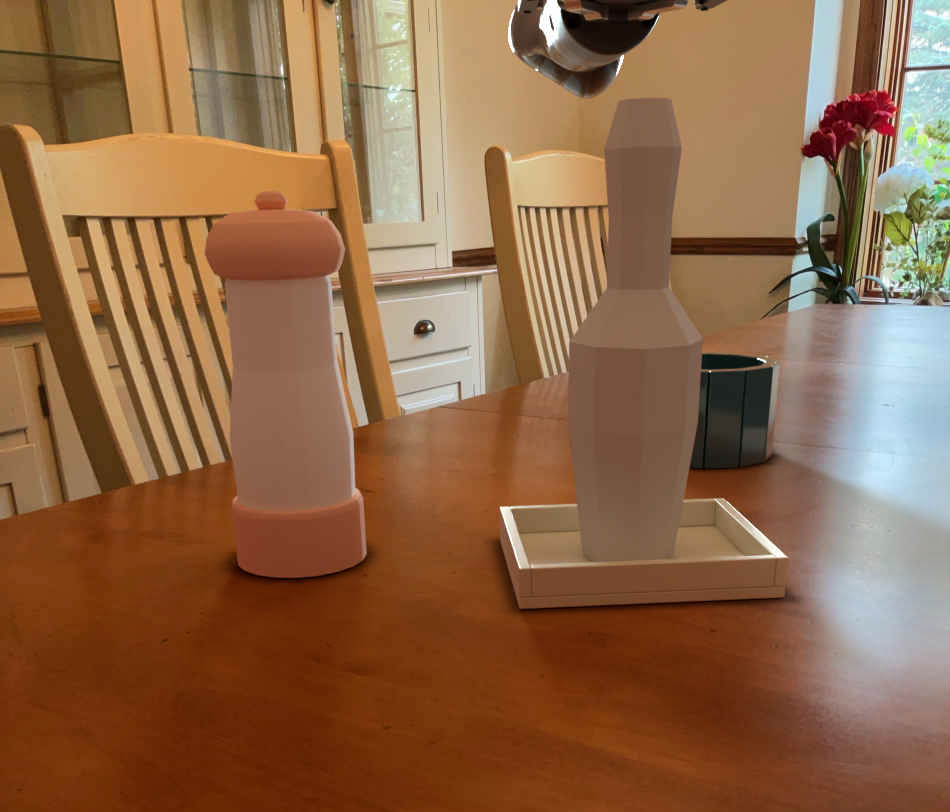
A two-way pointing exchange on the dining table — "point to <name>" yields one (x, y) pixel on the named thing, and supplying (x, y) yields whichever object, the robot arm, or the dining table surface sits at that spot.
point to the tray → (641, 581)
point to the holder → (735, 410)
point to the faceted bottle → (635, 355)
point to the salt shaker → (287, 393)
